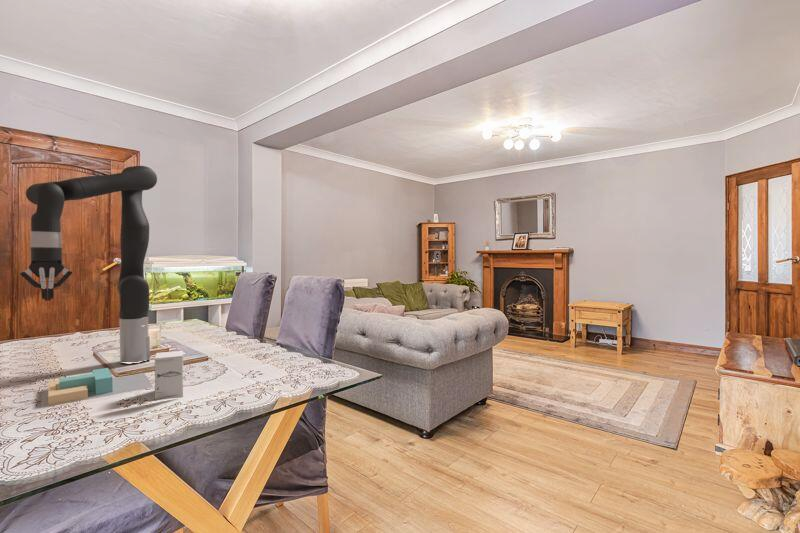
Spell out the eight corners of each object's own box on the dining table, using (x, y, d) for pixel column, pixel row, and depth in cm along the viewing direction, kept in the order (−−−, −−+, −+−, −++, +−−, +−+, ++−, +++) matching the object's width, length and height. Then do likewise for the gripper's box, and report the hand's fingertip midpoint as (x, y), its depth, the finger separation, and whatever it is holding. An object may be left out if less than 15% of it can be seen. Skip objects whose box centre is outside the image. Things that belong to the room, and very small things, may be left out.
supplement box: (154, 401, 115) (153, 358, 114) (156, 393, 122) (155, 352, 121) (183, 397, 118) (182, 355, 118) (183, 389, 125) (183, 349, 124)
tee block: (108, 381, 129) (108, 367, 128) (112, 391, 120) (112, 377, 119) (59, 389, 121) (59, 375, 121) (60, 401, 112) (59, 385, 111)
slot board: (144, 375, 138) (143, 365, 138) (153, 390, 124) (153, 379, 124) (43, 392, 121) (42, 381, 121) (40, 411, 107) (40, 398, 107)
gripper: (72, 246, 134) (73, 297, 135) (18, 245, 126) (19, 300, 126) (73, 246, 129) (74, 300, 129) (17, 245, 120) (18, 303, 121)
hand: (47, 300), depth 128 cm, fingers closed
